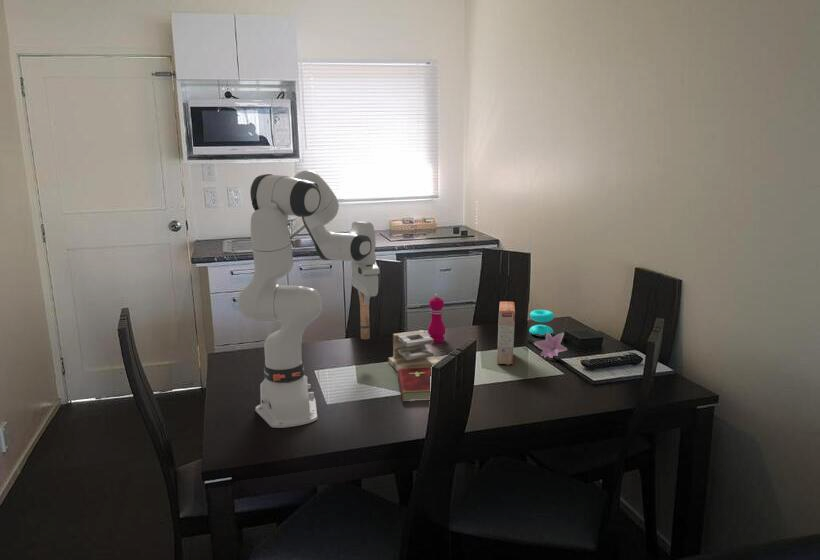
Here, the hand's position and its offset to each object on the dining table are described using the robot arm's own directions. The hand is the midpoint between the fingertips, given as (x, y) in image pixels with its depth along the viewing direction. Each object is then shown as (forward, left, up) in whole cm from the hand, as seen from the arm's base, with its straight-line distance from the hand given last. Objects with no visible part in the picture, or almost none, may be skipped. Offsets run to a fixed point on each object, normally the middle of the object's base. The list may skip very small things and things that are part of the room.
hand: (364, 303), depth 228 cm
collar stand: (-9, -16, -23) cm, 30 cm away
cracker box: (-16, -50, -24) cm, 58 cm away
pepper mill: (+14, -35, -24) cm, 45 cm away
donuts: (+4, -79, -24) cm, 83 cm away
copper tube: (0, 0, -13) cm, 13 cm away
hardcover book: (-29, -9, -24) cm, 39 cm away
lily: (-22, -67, -24) cm, 74 cm away
